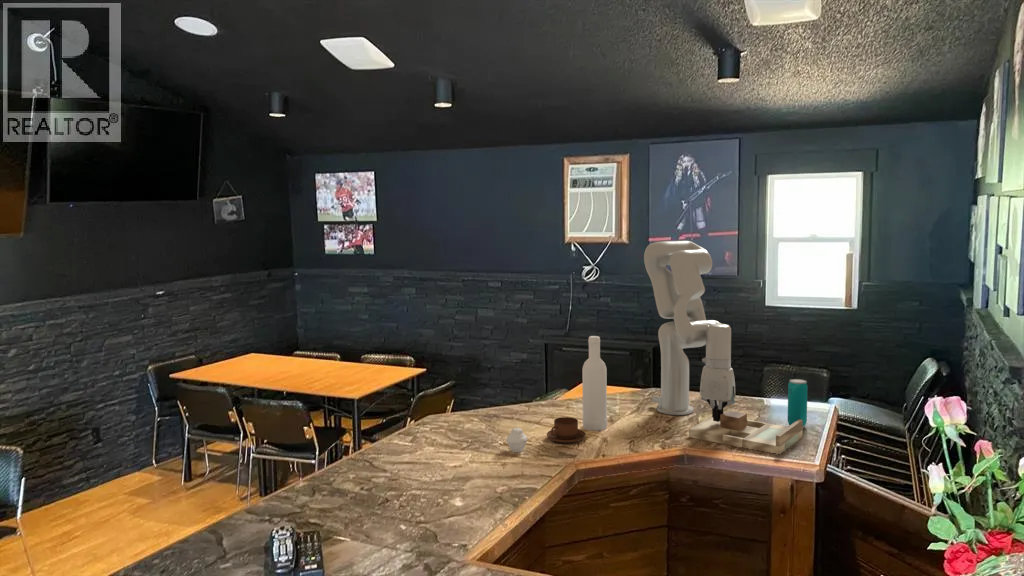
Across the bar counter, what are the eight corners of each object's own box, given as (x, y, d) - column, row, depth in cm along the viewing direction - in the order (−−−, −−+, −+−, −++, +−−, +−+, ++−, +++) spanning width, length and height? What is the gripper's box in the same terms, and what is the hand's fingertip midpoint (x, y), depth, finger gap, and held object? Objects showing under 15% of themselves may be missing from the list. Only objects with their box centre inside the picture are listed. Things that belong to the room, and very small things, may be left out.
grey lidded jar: (503, 452, 212) (503, 429, 211) (511, 446, 218) (510, 423, 217) (523, 455, 210) (523, 431, 209) (530, 448, 215) (530, 425, 215)
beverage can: (803, 423, 235) (804, 378, 233) (808, 429, 229) (810, 382, 228) (785, 423, 235) (786, 378, 234) (790, 428, 230) (791, 382, 228)
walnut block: (720, 427, 224) (720, 414, 224) (728, 422, 229) (728, 410, 228) (738, 430, 220) (738, 418, 220) (746, 426, 225) (746, 413, 224)
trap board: (688, 437, 223) (688, 419, 223) (715, 421, 239) (715, 405, 238) (779, 454, 206) (780, 436, 205) (802, 437, 221) (802, 419, 220)
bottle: (610, 425, 237) (609, 335, 234) (602, 432, 230) (602, 339, 227) (587, 422, 240) (586, 334, 237) (579, 429, 233) (578, 338, 230)
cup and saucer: (574, 448, 215) (574, 428, 215) (539, 442, 222) (539, 422, 221) (592, 437, 225) (592, 418, 225) (558, 432, 232) (558, 413, 231)
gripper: (690, 362, 227) (690, 419, 229) (736, 368, 218) (735, 427, 220) (701, 358, 233) (700, 414, 235) (746, 364, 224) (745, 421, 226)
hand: (717, 420), depth 227 cm, fingers closed
